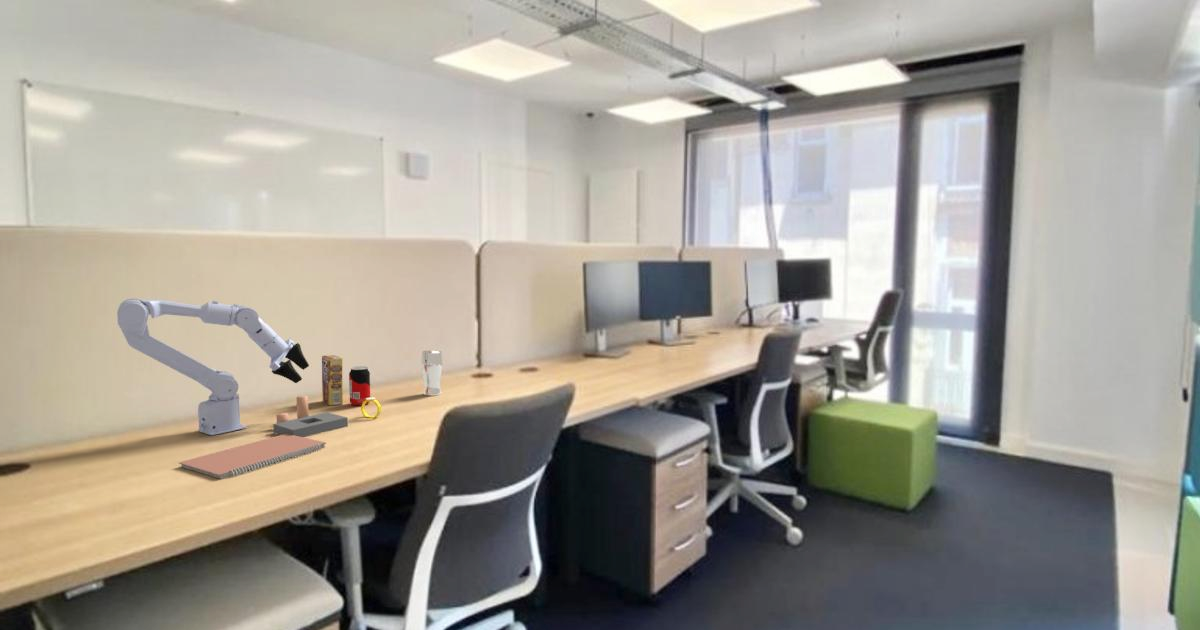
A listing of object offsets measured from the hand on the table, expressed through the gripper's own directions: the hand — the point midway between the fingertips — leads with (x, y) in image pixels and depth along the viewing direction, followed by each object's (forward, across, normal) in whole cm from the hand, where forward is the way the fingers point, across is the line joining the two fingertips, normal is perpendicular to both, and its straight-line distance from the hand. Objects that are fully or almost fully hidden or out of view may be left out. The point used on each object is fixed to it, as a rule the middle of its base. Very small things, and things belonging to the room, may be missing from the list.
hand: (302, 374), depth 187 cm
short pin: (+6, -14, +8) cm, 17 cm away
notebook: (+1, -38, +1) cm, 38 cm away
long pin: (+10, -6, +7) cm, 14 cm away
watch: (+21, -5, -9) cm, 24 cm away
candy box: (+18, +14, +9) cm, 25 cm away
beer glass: (+38, +23, -15) cm, 47 cm away
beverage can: (+22, +11, 0) cm, 25 cm away
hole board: (+10, -16, 0) cm, 19 cm away
